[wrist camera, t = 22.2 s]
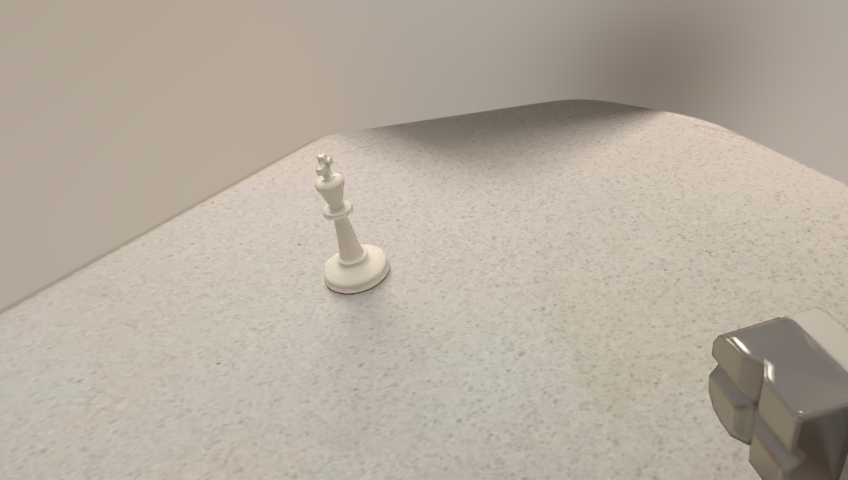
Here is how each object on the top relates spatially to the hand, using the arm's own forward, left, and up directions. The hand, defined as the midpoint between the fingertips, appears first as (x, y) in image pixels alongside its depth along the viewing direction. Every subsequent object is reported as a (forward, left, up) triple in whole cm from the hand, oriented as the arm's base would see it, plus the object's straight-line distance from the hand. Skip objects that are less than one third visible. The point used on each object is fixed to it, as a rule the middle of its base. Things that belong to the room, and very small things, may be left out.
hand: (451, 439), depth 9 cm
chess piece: (+15, -30, -22) cm, 40 cm away
